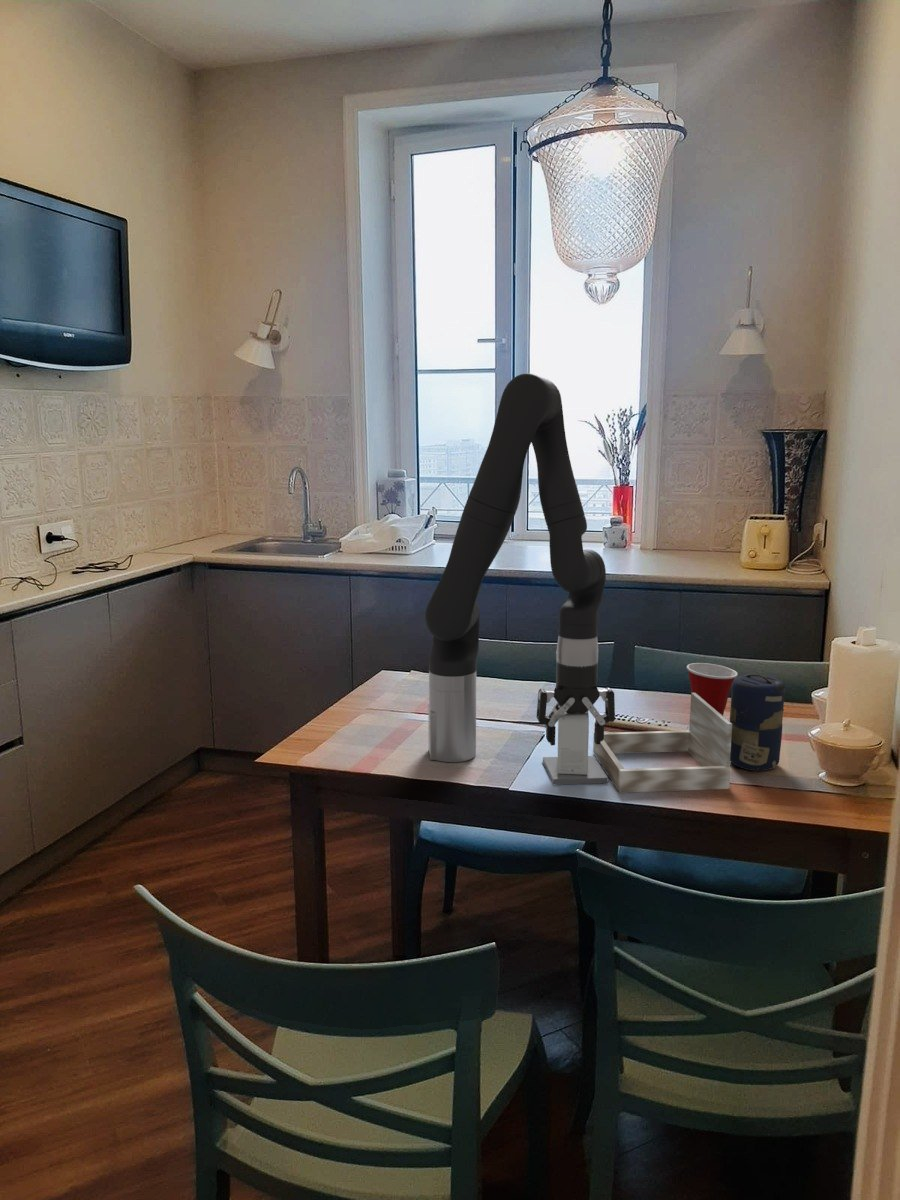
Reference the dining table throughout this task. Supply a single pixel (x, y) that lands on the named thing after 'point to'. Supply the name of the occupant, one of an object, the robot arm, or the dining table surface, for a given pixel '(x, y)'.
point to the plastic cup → (711, 683)
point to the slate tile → (593, 774)
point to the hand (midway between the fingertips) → (574, 743)
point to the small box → (573, 743)
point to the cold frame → (701, 740)
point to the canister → (756, 721)
